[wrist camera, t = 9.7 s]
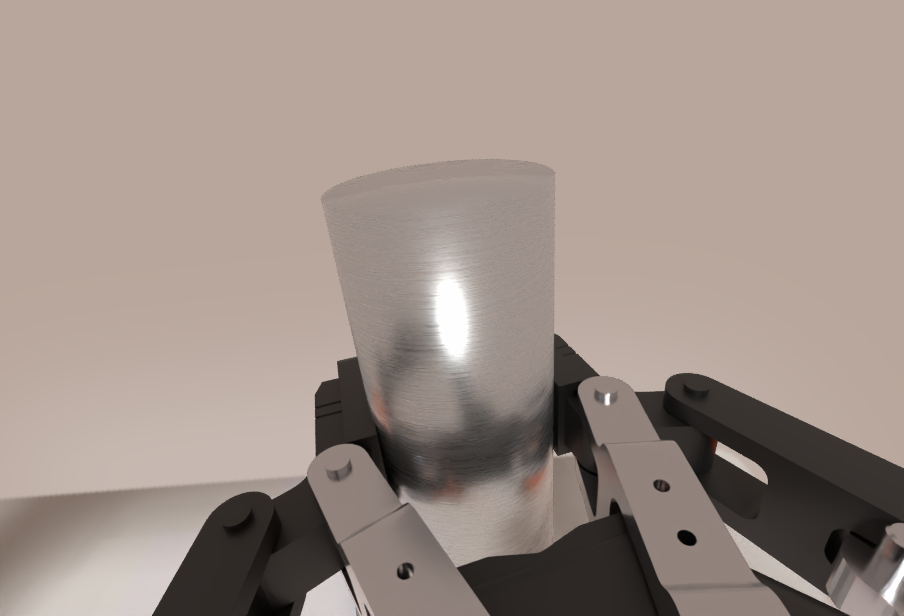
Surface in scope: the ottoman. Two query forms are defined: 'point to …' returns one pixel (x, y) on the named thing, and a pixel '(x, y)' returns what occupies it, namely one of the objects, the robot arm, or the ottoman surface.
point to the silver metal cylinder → (457, 342)
